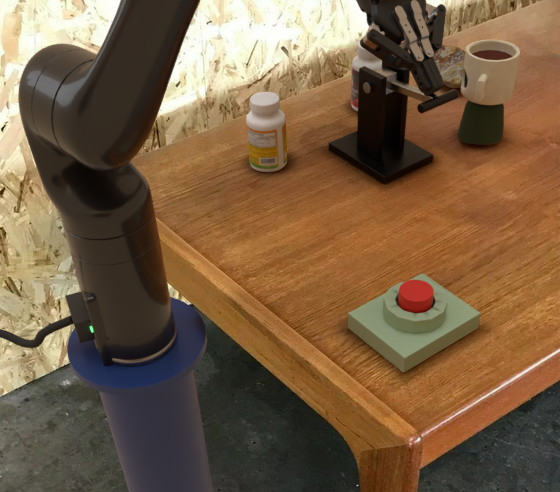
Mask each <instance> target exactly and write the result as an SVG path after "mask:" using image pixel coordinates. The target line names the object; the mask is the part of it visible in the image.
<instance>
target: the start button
mask: <svg viewBox="0 0 560 492" xmlns="http://www.w3.org/2000/svg"><path fill="white" fill-rule="evenodd" d="M408 280H409V281H408ZM408 280H406V281H403V282H404V283H403V284H402V285H401V286H400V288H399V297H398V304H399V306H400V308H401V309H402V310H404V311H407V312H411V313H424V312H427V311H428V310H430V308H431V307H432V303H433V295H434V290H433V287H432V286H431V285H430V284H429V283H427V282H425V281H422V280H410V279H408Z"/></svg>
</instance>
